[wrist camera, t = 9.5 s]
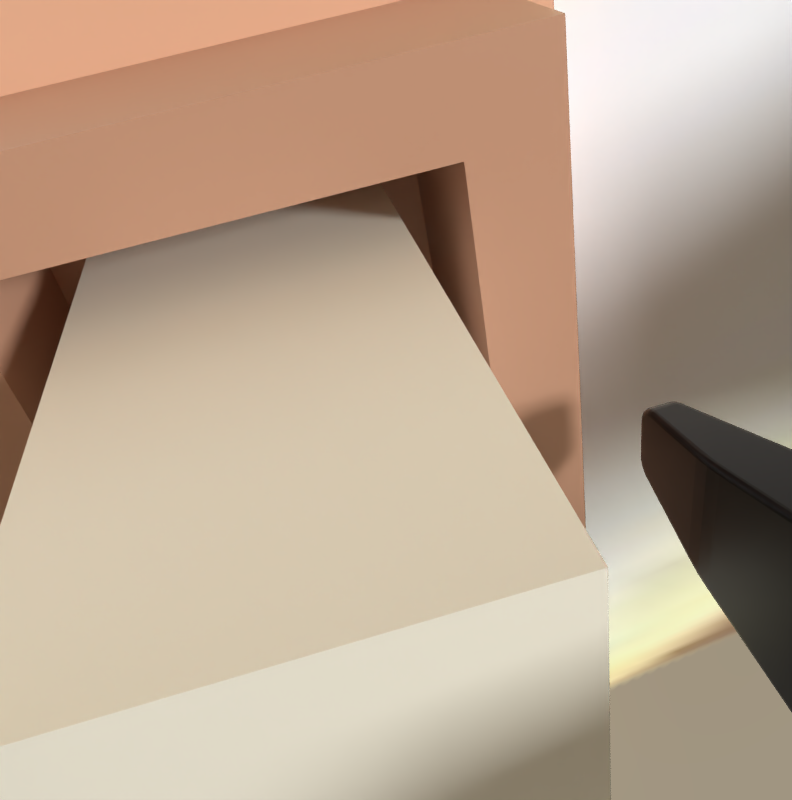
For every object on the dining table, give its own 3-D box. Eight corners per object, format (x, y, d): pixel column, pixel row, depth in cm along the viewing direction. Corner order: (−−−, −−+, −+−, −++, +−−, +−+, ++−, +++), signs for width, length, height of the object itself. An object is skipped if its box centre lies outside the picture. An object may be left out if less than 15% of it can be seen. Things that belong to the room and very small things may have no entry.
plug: (367, 161, 11) (608, 567, 4) (429, 466, 14) (612, 939, 8) (95, 230, 11) (-79, 769, 4) (227, 522, 14) (244, 1058, 8)
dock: (514, -130, 10) (669, -139, 7) (557, 494, 17) (644, 642, 14) (-227, 41, 10) (-463, 124, 6) (134, 616, 17) (115, 803, 13)
